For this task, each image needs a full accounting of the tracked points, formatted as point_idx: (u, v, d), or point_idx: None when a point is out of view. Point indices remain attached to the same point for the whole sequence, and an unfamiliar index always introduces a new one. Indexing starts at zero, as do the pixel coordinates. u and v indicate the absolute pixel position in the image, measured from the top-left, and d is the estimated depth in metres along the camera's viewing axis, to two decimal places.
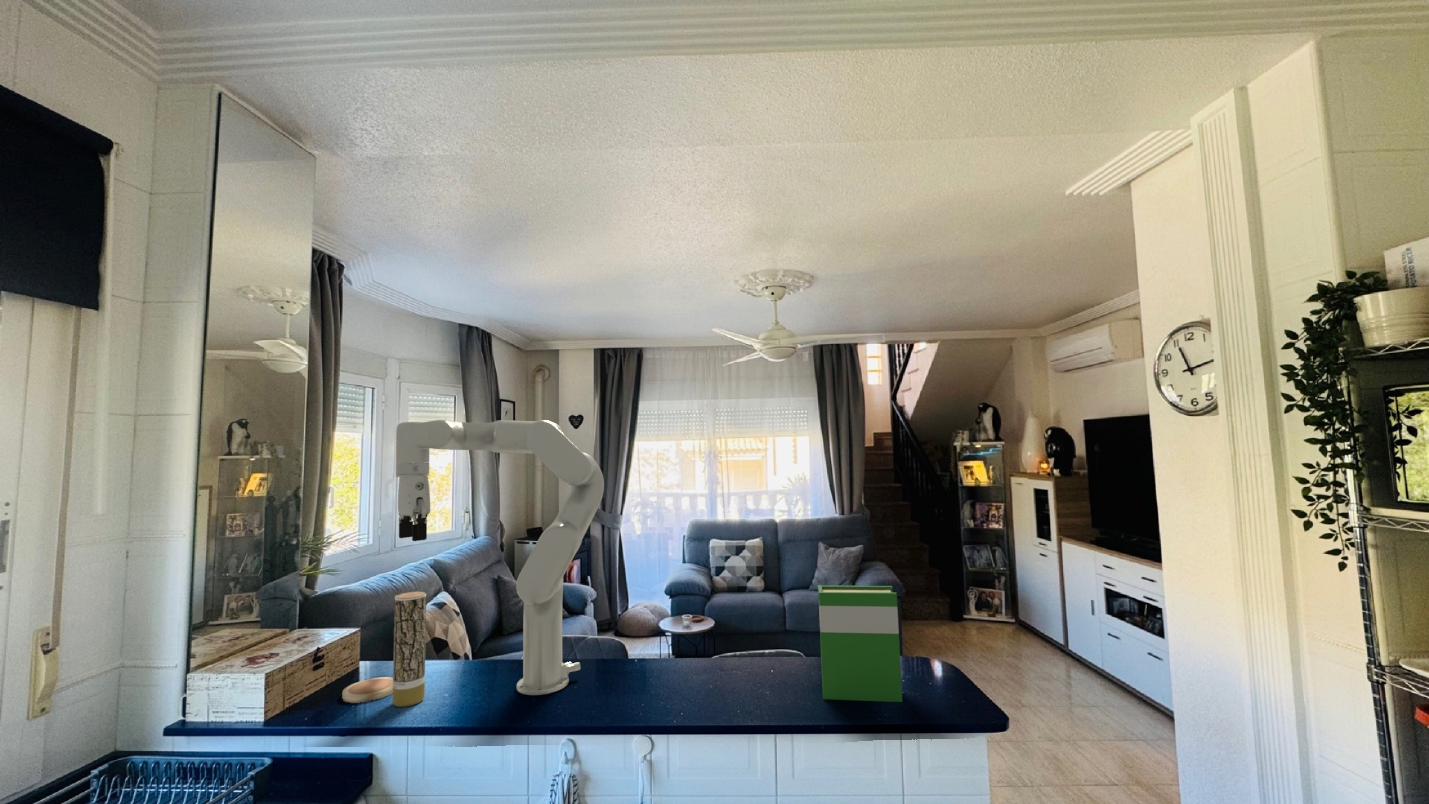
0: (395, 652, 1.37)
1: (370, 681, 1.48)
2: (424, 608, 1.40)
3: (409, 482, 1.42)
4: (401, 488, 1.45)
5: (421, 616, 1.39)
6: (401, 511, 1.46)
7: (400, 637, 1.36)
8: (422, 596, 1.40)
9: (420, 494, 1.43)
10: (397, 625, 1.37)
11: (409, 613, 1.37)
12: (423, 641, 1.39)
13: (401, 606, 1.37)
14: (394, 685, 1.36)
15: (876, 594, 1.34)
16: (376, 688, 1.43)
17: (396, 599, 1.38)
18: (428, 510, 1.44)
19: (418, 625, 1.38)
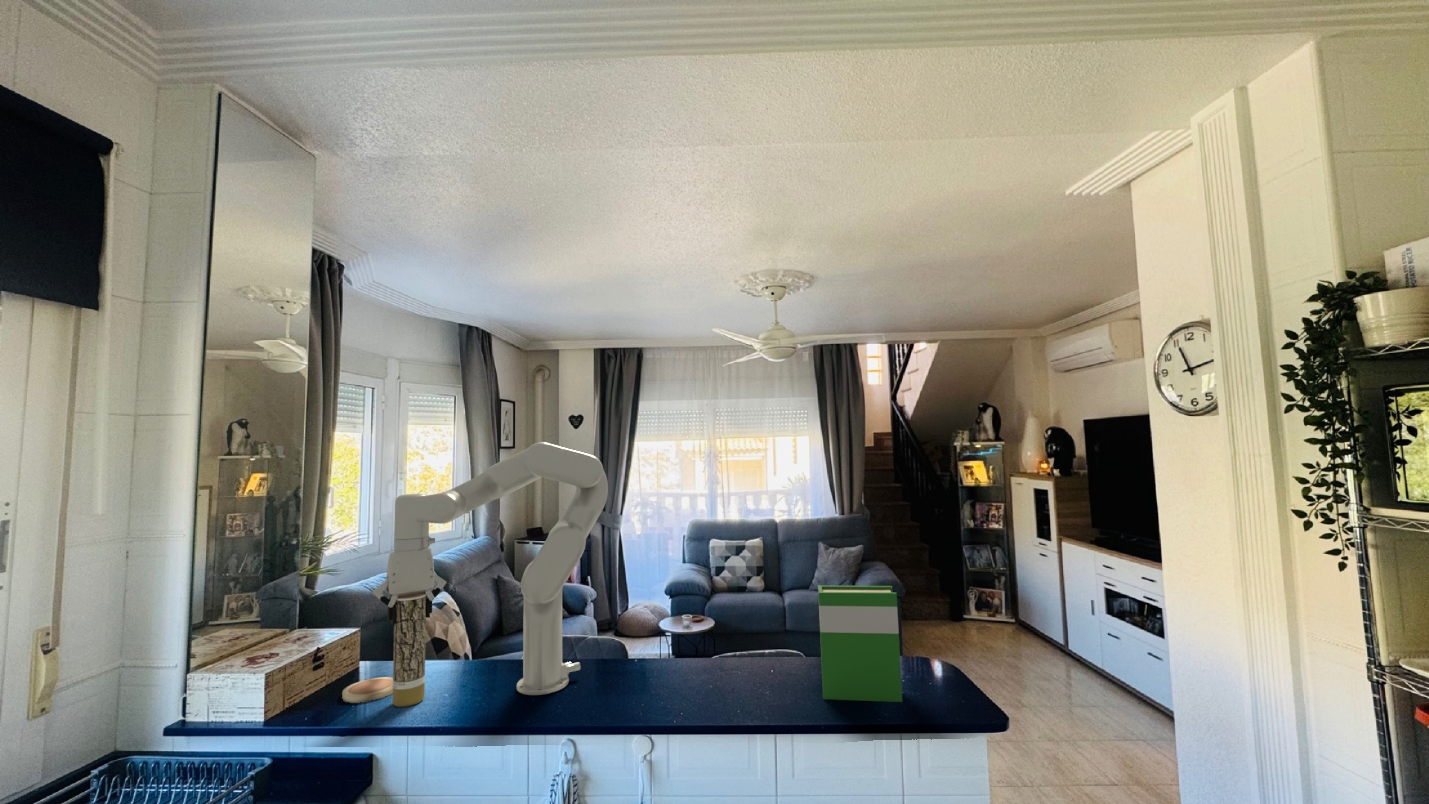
0: (395, 652, 1.37)
1: (370, 681, 1.48)
2: (424, 608, 1.40)
3: (430, 555, 1.42)
4: (411, 564, 1.39)
5: (421, 616, 1.39)
6: (405, 589, 1.38)
7: (400, 637, 1.36)
8: (422, 596, 1.40)
9: None
10: (397, 625, 1.37)
11: (409, 613, 1.37)
12: (423, 641, 1.39)
13: (401, 606, 1.37)
14: (394, 685, 1.36)
15: (876, 594, 1.34)
16: (376, 688, 1.43)
17: None
18: None
19: (418, 625, 1.38)
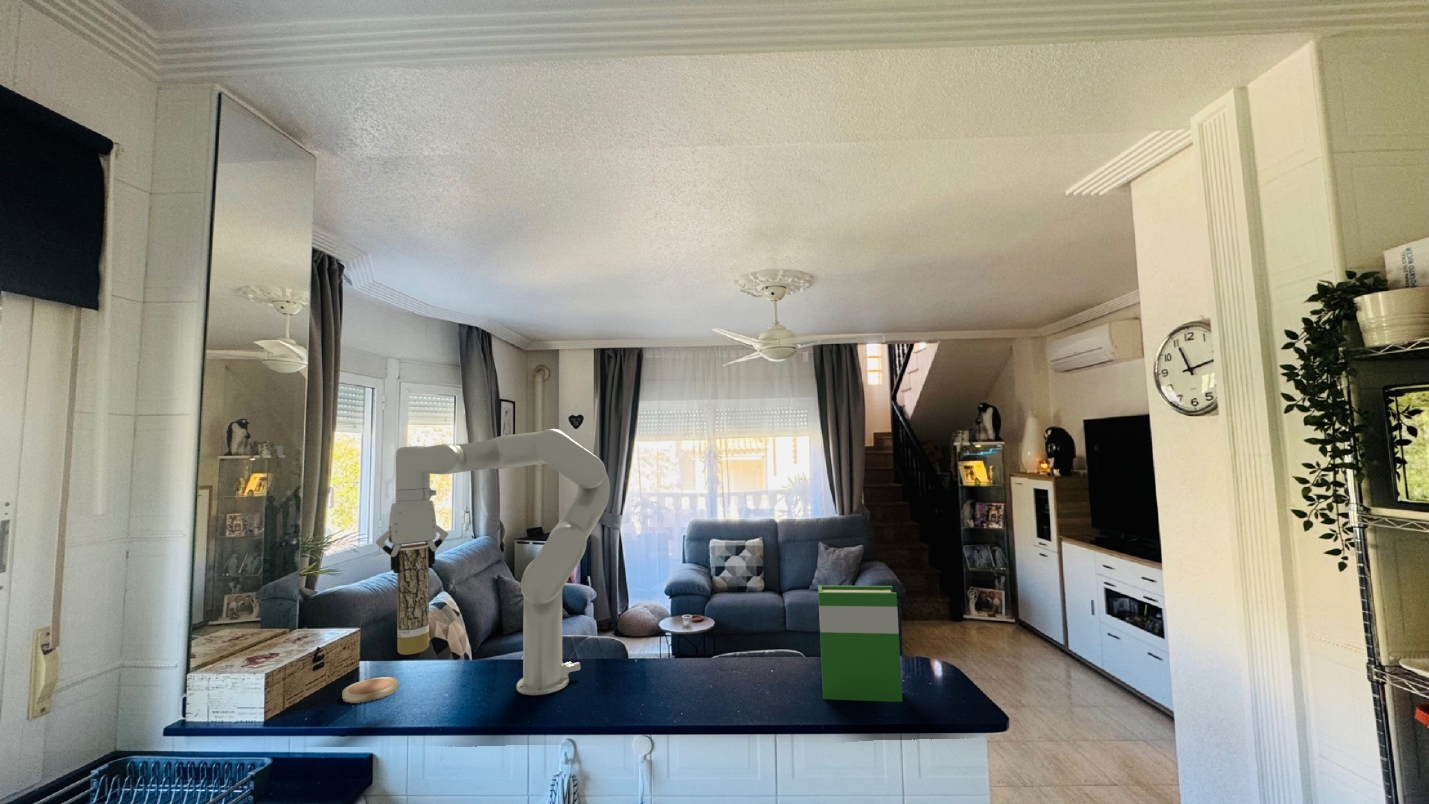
0: (398, 601, 1.38)
1: (370, 681, 1.48)
2: (427, 558, 1.42)
3: (432, 506, 1.43)
4: (413, 514, 1.40)
5: (424, 565, 1.40)
6: (407, 539, 1.39)
7: (403, 586, 1.38)
8: (424, 546, 1.41)
9: None
10: (401, 574, 1.38)
11: (412, 563, 1.38)
12: (426, 591, 1.41)
13: (404, 555, 1.38)
14: (398, 633, 1.37)
15: (876, 594, 1.34)
16: (376, 688, 1.43)
17: (399, 549, 1.39)
18: None
19: (421, 574, 1.39)
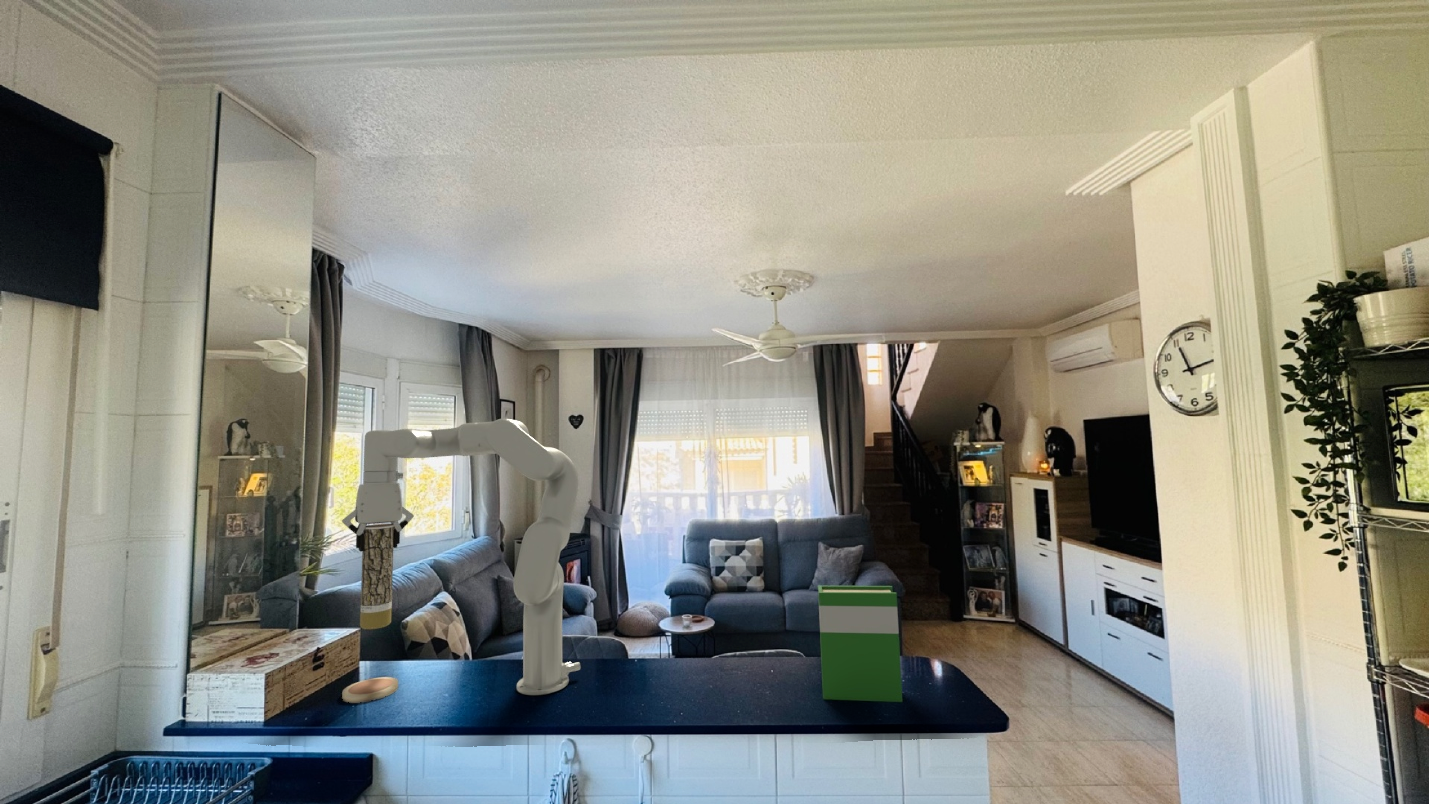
0: (362, 578, 1.44)
1: (370, 681, 1.48)
2: (391, 538, 1.47)
3: (398, 489, 1.49)
4: (379, 496, 1.46)
5: (388, 544, 1.46)
6: (373, 519, 1.45)
7: (367, 563, 1.43)
8: (390, 526, 1.47)
9: None
10: (365, 552, 1.44)
11: (377, 541, 1.44)
12: (390, 569, 1.46)
13: (369, 534, 1.44)
14: (361, 609, 1.43)
15: (876, 594, 1.34)
16: (376, 688, 1.43)
17: None
18: None
19: (385, 553, 1.45)
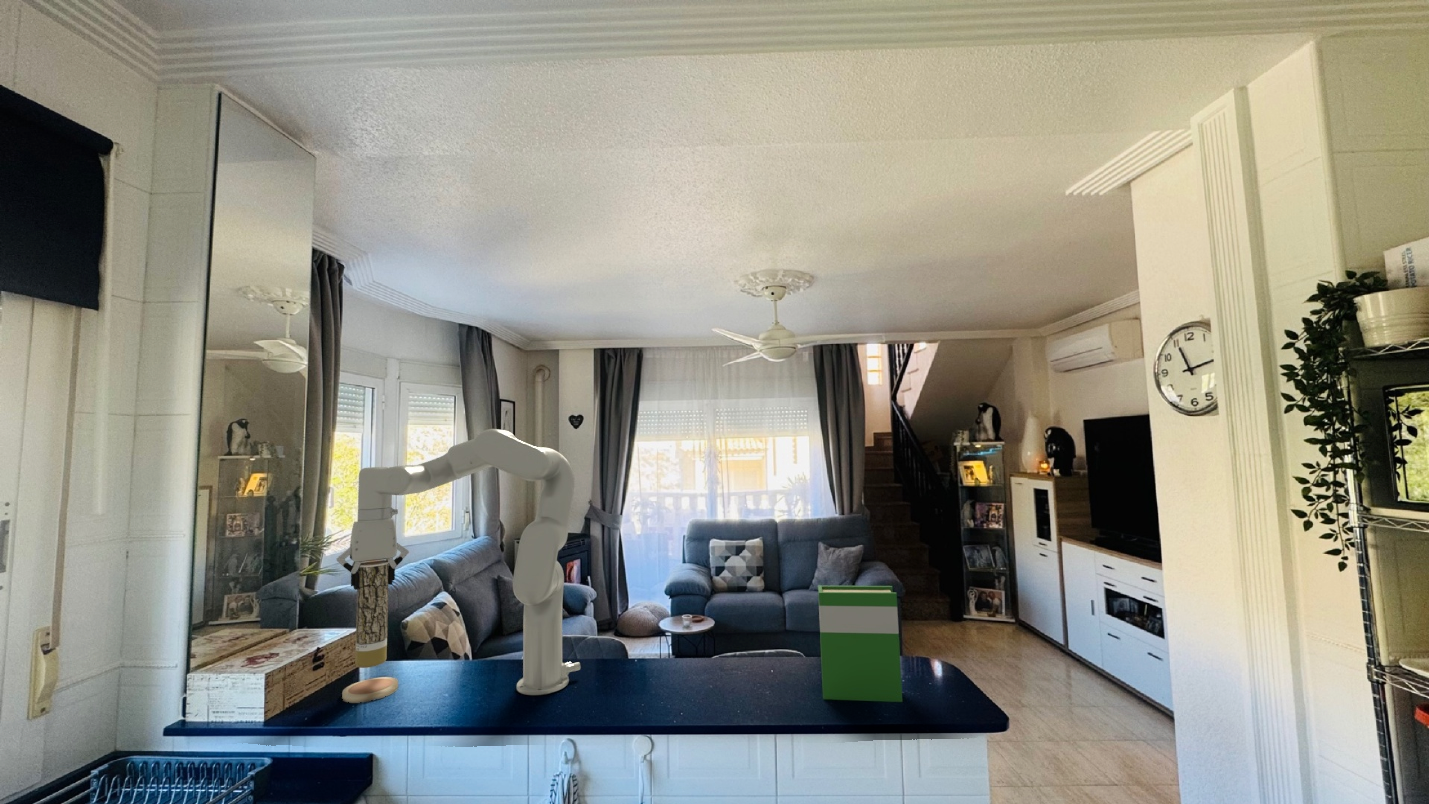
0: (357, 616, 1.44)
1: (370, 681, 1.48)
2: (386, 575, 1.47)
3: (393, 525, 1.49)
4: (374, 533, 1.46)
5: (383, 582, 1.46)
6: (367, 557, 1.45)
7: (362, 601, 1.43)
8: (384, 563, 1.47)
9: None
10: (360, 590, 1.44)
11: (371, 579, 1.44)
12: (385, 606, 1.46)
13: (364, 572, 1.44)
14: (356, 647, 1.43)
15: (876, 594, 1.34)
16: (376, 688, 1.43)
17: (359, 566, 1.45)
18: None
19: (380, 591, 1.45)
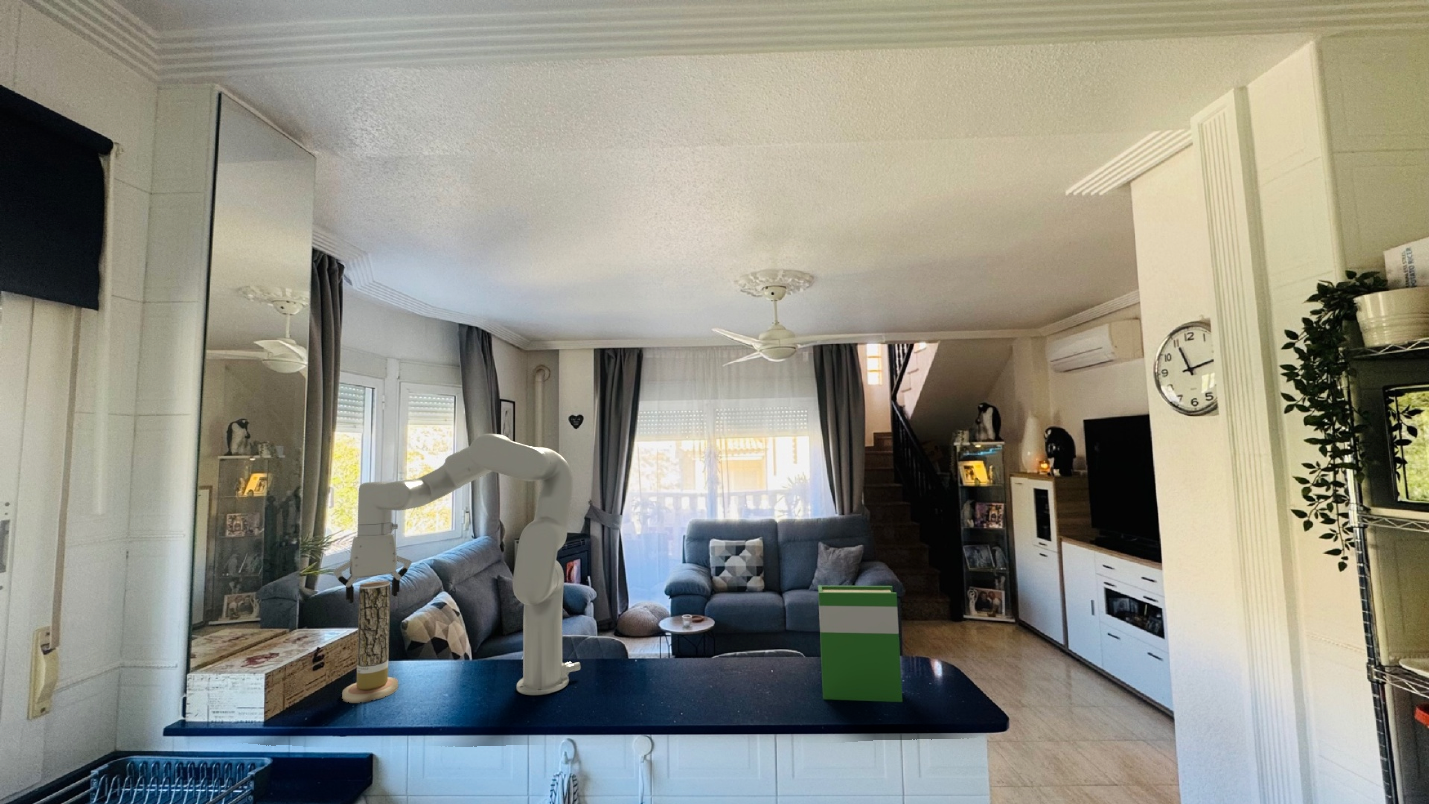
0: (359, 638, 1.43)
1: None
2: (388, 596, 1.47)
3: (392, 540, 1.49)
4: (373, 548, 1.46)
5: (385, 603, 1.46)
6: (367, 572, 1.45)
7: (364, 623, 1.43)
8: (386, 585, 1.46)
9: None
10: (361, 612, 1.43)
11: (373, 601, 1.44)
12: (386, 628, 1.46)
13: (365, 594, 1.44)
14: (358, 669, 1.42)
15: (876, 594, 1.34)
16: (376, 688, 1.43)
17: (360, 587, 1.44)
18: None
19: (382, 612, 1.45)
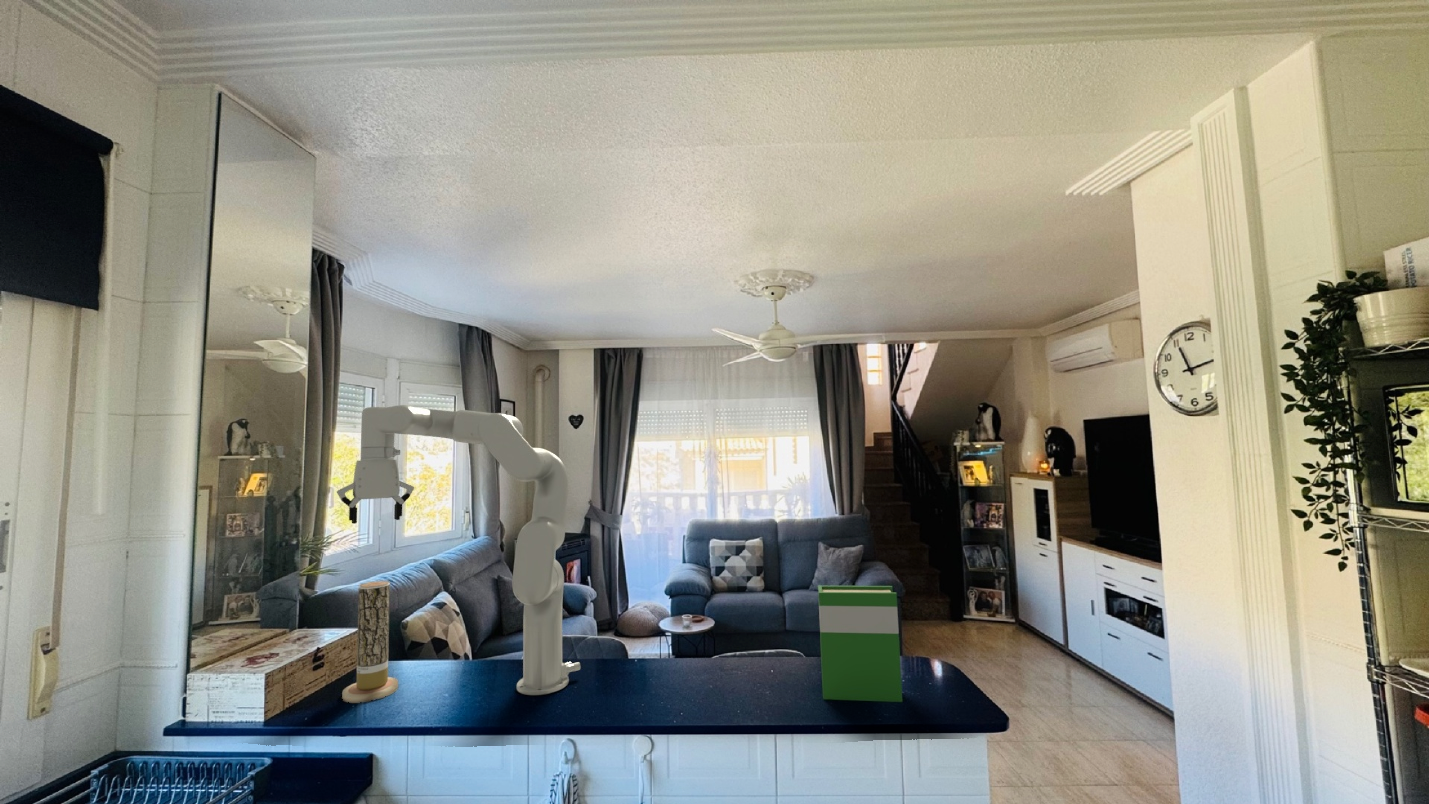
0: (358, 638, 1.43)
1: None
2: (387, 596, 1.47)
3: (395, 465, 1.51)
4: (377, 471, 1.48)
5: (384, 603, 1.46)
6: (370, 494, 1.47)
7: (363, 624, 1.43)
8: (385, 585, 1.46)
9: None
10: (361, 612, 1.43)
11: (372, 601, 1.44)
12: (386, 628, 1.46)
13: (365, 594, 1.43)
14: (358, 669, 1.42)
15: (876, 594, 1.34)
16: (376, 688, 1.43)
17: (360, 588, 1.44)
18: None
19: (381, 612, 1.45)
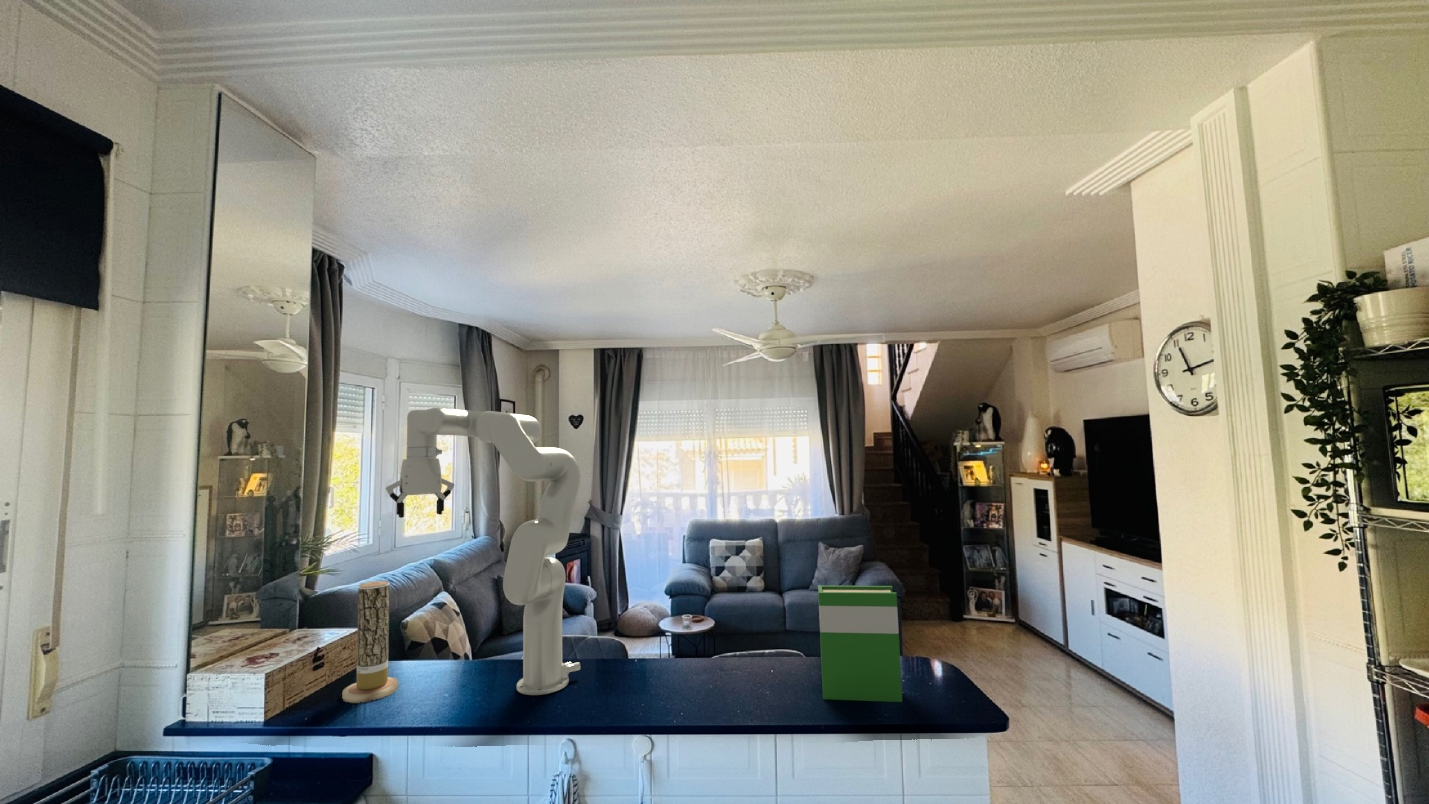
0: (358, 638, 1.43)
1: None
2: (387, 596, 1.47)
3: (438, 463, 1.63)
4: (421, 469, 1.59)
5: (384, 603, 1.45)
6: (416, 491, 1.59)
7: (363, 624, 1.43)
8: (385, 585, 1.46)
9: None
10: (361, 612, 1.43)
11: (372, 601, 1.44)
12: (386, 628, 1.46)
13: (364, 594, 1.43)
14: (358, 669, 1.42)
15: (876, 594, 1.34)
16: (376, 688, 1.43)
17: (360, 588, 1.44)
18: None
19: (381, 612, 1.45)
